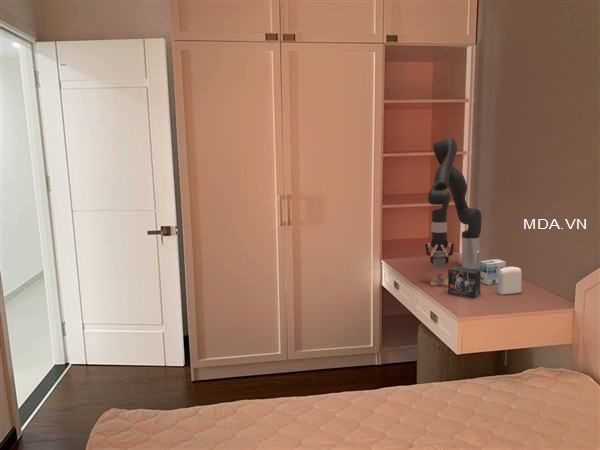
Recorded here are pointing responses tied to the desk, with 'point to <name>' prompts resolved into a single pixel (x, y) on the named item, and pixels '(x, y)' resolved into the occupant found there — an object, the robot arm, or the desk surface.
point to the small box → (464, 281)
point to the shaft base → (437, 284)
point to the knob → (439, 259)
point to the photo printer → (509, 280)
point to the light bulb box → (491, 270)
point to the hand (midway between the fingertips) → (439, 263)
